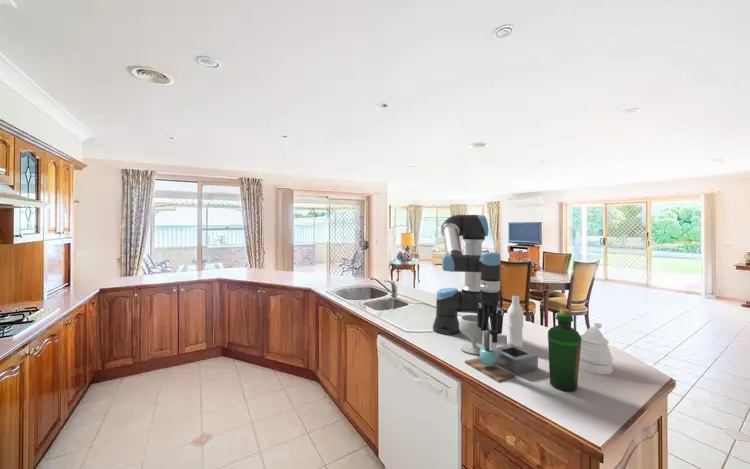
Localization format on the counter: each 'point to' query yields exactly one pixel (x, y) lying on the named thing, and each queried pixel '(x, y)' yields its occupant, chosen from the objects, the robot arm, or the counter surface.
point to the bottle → (564, 352)
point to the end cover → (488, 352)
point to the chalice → (471, 333)
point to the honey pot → (595, 352)
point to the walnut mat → (490, 370)
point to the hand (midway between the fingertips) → (489, 348)
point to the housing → (516, 360)
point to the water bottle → (515, 323)
